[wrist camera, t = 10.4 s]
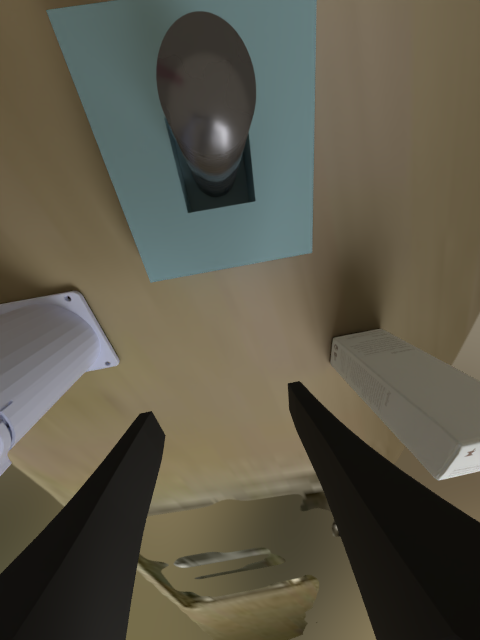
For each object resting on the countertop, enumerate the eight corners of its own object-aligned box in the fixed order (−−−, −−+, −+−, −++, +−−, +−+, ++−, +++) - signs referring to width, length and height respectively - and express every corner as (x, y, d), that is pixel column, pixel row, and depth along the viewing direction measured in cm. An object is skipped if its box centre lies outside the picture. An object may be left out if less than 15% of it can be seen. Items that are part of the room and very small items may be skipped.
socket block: (162, 274, 16) (150, 282, 13) (90, 67, 10) (46, 10, 8) (296, 249, 16) (311, 252, 13) (292, 37, 11) (316, -28, 8)
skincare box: (328, 365, 23) (432, 487, 12) (331, 334, 21) (459, 447, 10) (376, 355, 23) (521, 467, 12) (383, 324, 21) (566, 424, 10)
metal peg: (201, 202, 13) (181, 166, 6) (185, 151, 12) (136, 30, 5) (240, 190, 13) (265, 139, 6) (228, 137, 12) (242, -6, 5)
